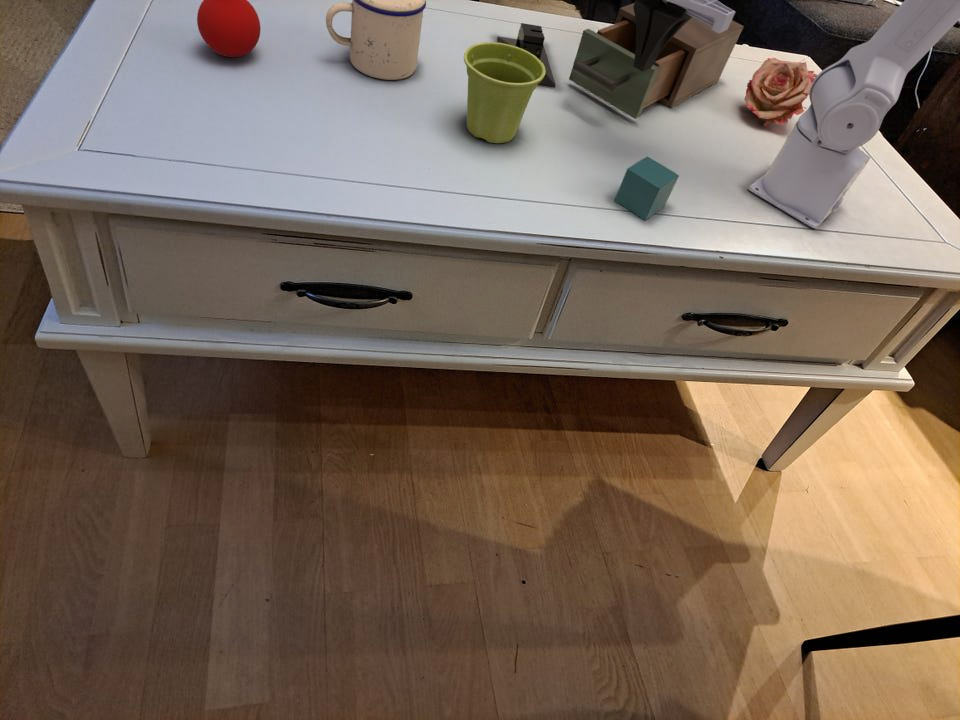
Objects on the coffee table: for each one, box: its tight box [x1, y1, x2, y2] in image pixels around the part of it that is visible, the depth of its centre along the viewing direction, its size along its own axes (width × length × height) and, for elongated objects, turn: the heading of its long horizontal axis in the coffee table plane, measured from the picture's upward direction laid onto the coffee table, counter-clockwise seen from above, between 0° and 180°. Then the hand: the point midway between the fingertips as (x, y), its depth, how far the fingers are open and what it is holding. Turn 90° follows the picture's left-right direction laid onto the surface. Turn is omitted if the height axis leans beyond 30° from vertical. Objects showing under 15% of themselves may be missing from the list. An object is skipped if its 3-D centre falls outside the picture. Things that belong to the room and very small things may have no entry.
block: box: [613, 155, 680, 221], centre depth 78 cm, size 4×4×4 cm
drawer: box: [568, 19, 689, 120], centre depth 93 cm, size 18×11×7 cm, turn 138°
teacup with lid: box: [325, 0, 427, 81], centre depth 85 cm, size 12×9×12 cm
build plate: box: [496, 22, 557, 89], centre depth 96 cm, size 12×7×5 cm, turn 5°
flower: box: [743, 57, 818, 128], centre depth 98 cm, size 10×9×8 cm
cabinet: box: [614, 2, 745, 109], centre depth 100 cm, size 15×13×9 cm
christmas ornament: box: [196, 0, 261, 58], centre depth 81 cm, size 7×7×10 cm
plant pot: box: [463, 41, 546, 144], centre depth 81 cm, size 9×9×9 cm
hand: (642, 67), depth 80 cm, fingers closed
